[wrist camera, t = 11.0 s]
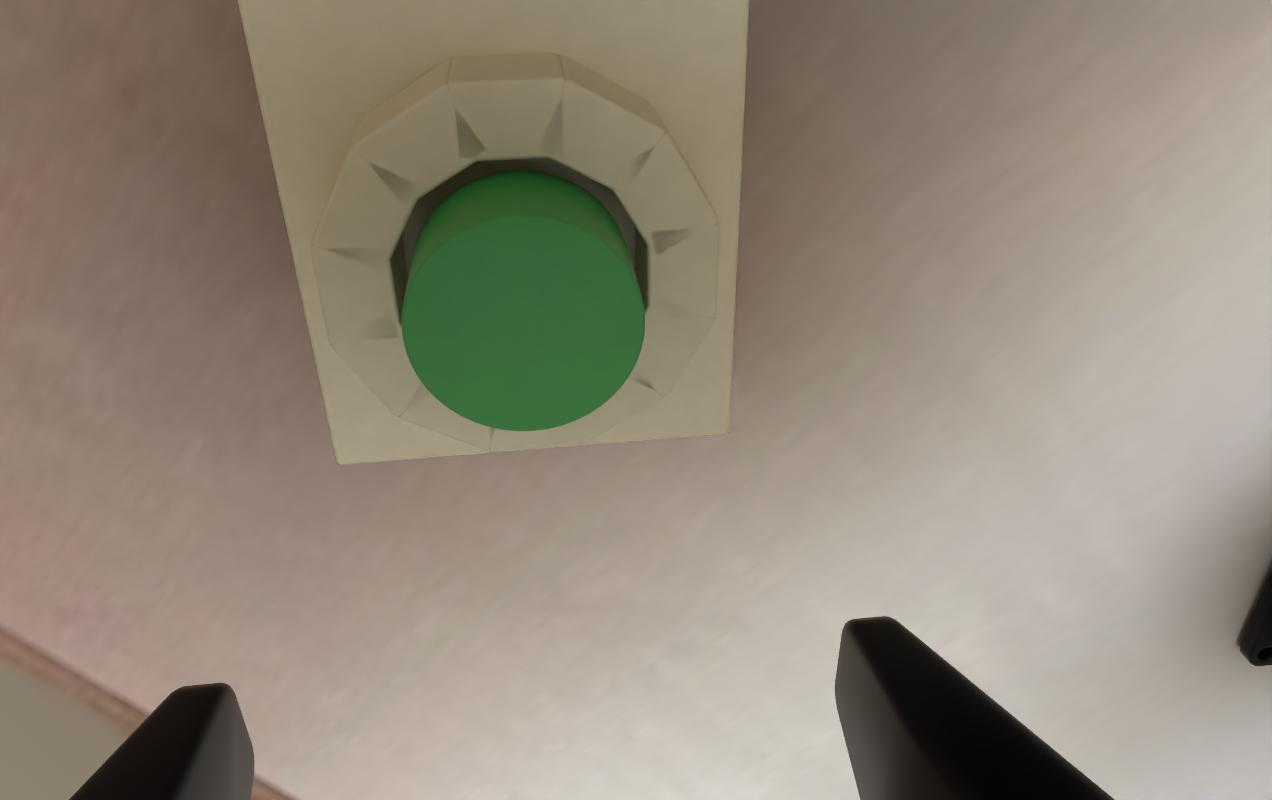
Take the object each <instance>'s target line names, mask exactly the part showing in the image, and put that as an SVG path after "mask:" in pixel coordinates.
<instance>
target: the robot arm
mask: <svg viewBox="0 0 1272 800" xmlns="http://www.w3.org/2000/svg"><path fill="white" fill-rule="evenodd" d="M1240 651H1241V653H1242V654H1243V655H1244V656H1245V658H1246V659H1247V660H1248V661H1249V662H1250V663H1251V664H1253V665H1255V666H1264V665H1272V575H1271V577H1270V580H1269V582H1268V584H1267V586H1266V589H1265V591H1264V593H1263V596H1262V598H1261V600H1260V602H1259V605H1258V607H1257V609H1256V612H1255V614H1254V616H1253V618H1252V621H1251V623H1250V625H1249V628H1248V630H1247V632H1246V634H1245V637H1244V639H1243V641H1242V644H1241V647H1240ZM835 697H836V704H837V710H838V714H839V718H840V722H841V726H842V729H843V733H844V737H845V741H846V745H847V749H848V753H849V757H850V761H851V764H852V768H853V772H854V776H855V780H856V784H857V788H858V792H859V795H860V799H861V800H1114V799H1113V798H1112V797H1111V796H1109V795H1108V794H1107V793H1106V792H1105V791H1103V790H1102V789H1101V788H1100V787H1099V786H1097V785H1096V784H1095V783H1094V782H1092V781H1091V780H1090V779H1089V778H1088V777H1086V776H1085V775H1084V774H1083V773H1082V772H1080V771H1079V770H1078V769H1077V768H1075V767H1074V766H1073V765H1072V764H1071V763H1069V762H1068V761H1067V760H1066V759H1064V758H1063V757H1062V756H1061V755H1060V754H1058V753H1057V752H1056V751H1055V750H1054V749H1052V748H1051V747H1050V746H1049V745H1047V744H1046V743H1045V742H1044V741H1043V740H1041V739H1040V738H1039V737H1038V736H1037V735H1035V734H1034V733H1033V732H1032V731H1030V730H1029V729H1028V728H1027V727H1026V726H1024V725H1023V724H1022V723H1021V722H1019V721H1018V720H1017V719H1016V718H1015V717H1013V716H1012V715H1011V714H1010V713H1009V712H1007V711H1006V710H1005V709H1004V708H1002V707H1001V706H1000V705H999V704H998V703H996V702H995V701H994V700H993V699H992V698H990V697H989V696H988V695H987V694H985V693H984V692H983V691H982V690H981V689H979V688H978V687H977V686H976V685H975V684H973V683H972V682H971V681H970V680H968V679H967V678H966V677H965V676H964V675H962V674H961V673H960V672H959V671H957V670H956V669H955V668H954V667H953V666H951V665H950V664H949V663H948V662H947V661H945V660H944V659H943V658H942V657H940V656H939V655H938V654H937V653H936V652H934V651H933V650H932V649H931V648H930V647H928V646H927V645H926V644H925V643H923V642H922V641H921V640H920V639H919V638H917V637H916V636H915V635H914V634H912V633H911V632H910V631H909V630H908V629H906V628H905V627H904V626H903V625H902V624H900V623H899V622H898V621H896V620H895V619H893V618H890V617H887V616H882V617H872V618H862V619H852V620H850V621H848V622H847V623H846V624H845V626H844V628H843V631H842V636H841V643H840V651H839V658H838V666H837V673H836V680H835ZM253 778H254V752H253V747H252V743H251V740H250V737H249V734H248V731H247V728H246V725H245V722H244V719H243V716H242V713H241V710H240V707H239V704H238V701H237V698H236V695H235V693H234V691H233V689H232V688H231V687H230V686H229V685H228V684H225V683H213V684H203V685H193V686H184V687H181V688H178V689H177V690H175V691H174V692H172V693H171V694H170V695H169V696H168V697H167V698H166V699H165V700H164V701H163V702H162V703H161V704H160V705H159V706H158V707H157V708H156V709H155V710H154V711H153V712H152V714H151V715H150V716H149V717H148V718H147V719H146V720H145V721H144V722H143V723H142V724H141V725H140V726H139V727H138V728H137V729H136V730H135V731H134V732H133V733H132V734H131V735H130V737H129V738H128V739H127V740H126V741H125V742H124V743H123V744H122V745H121V746H120V747H119V748H118V749H117V750H116V751H115V752H114V753H113V754H112V755H111V756H110V757H109V758H108V760H107V761H106V762H105V763H104V764H103V765H102V766H101V767H100V768H99V769H98V770H97V771H96V772H95V773H94V774H93V775H92V776H91V777H90V778H89V779H88V780H87V781H86V783H85V784H84V785H83V786H82V787H81V788H80V789H79V790H78V791H77V792H76V793H75V794H74V795H73V796H72V797H71V798H70V799H69V800H251V794H252V786H253Z"/></svg>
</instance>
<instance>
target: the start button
mask: <svg viewBox="0 0 1272 800" xmlns="http://www.w3.org/2000/svg"><path fill="white" fill-rule="evenodd" d="M401 325H402V337H403V342H404V346H405V350H406V353H407V356H408V358H409V361H410V363H411V366H412V367H413V369H414V371H415V373H416V374H417V376H418V378H419V379H420V380H421V382H422V383H423V384H424V386H425V387H426V388H427V390H428V391H429V392H430V393H431V394H432V395H433V396H434V397H435V398H436V399H437V400H439V401H440V402H441V403H442V404H444V405H445V406H446V407H447V408H449V409H450V410H452V411H454V412H455V413H457V414H459V415H460V416H462V417H464V418H466V419H469V420H471V421H473V422H475V423H478V424H481V425H485V426H488V427H492V428H497V429H502V430H510V431H537V430H545V429H550V428H554V427H558V426H563V425H565V424H568V423H571V422H573V421H576V420H578V419H580V418H582V417H584V416H586V415H588V414H590V413H591V412H593V411H594V410H596V409H598V408H599V407H601V406H602V405H603V404H604V403H605V402H607V401H608V400H609V399H610V398H611V397H612V396H613V395H614V394H615V393H616V392H617V391H618V390H619V389H620V388H621V387H622V385H623V384H624V383H625V381H626V380H627V378H628V377H629V375H630V374H631V372H632V370H633V368H634V366H635V364H636V363H637V360H638V357H639V355H640V352H641V349H642V345H643V340H644V335H645V311H644V304H643V300H642V295H641V291H640V288H639V285H638V282H637V278H636V275H635V272H634V268H633V265H632V262H631V258H630V255H629V252H628V249H627V245H626V242H625V240H624V237H623V235H622V232H621V230H620V228H619V226H618V225H617V223H616V221H615V219H614V218H613V217H612V215H611V214H610V213H609V211H608V210H607V209H606V208H605V207H604V206H603V205H602V204H601V203H600V202H599V201H598V200H597V199H596V198H595V197H594V196H593V195H591V194H590V193H589V192H587V191H586V190H585V189H583V188H581V187H580V186H578V185H576V184H575V183H573V182H571V181H568V180H566V179H563V178H561V177H559V176H555V175H551V174H548V173H544V172H537V171H530V170H511V171H503V172H497V173H493V174H489V175H485V176H482V177H479V178H477V179H474V180H472V181H470V182H468V183H466V184H464V185H462V186H461V187H459V188H457V189H456V190H454V191H453V192H452V193H450V194H449V195H448V196H446V197H445V198H444V199H443V200H442V201H441V202H440V203H439V204H438V205H437V206H436V207H435V208H434V210H433V211H432V212H431V214H430V215H429V216H428V218H427V219H426V221H425V223H424V225H423V226H422V228H421V230H420V232H419V235H418V238H417V240H416V243H415V247H414V252H413V256H412V262H411V267H410V272H409V277H408V282H407V287H406V292H405V298H404V303H403V308H402V321H401Z"/></svg>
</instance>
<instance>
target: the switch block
mask: <svg viewBox="0 0 1272 800" xmlns="http://www.w3.org/2000/svg"><path fill="white" fill-rule="evenodd" d="M238 5H239V10H240V14H241V19H242V24H243V28H244V33H245V38H246V42H247V47H248V52H249V56H250V61H251V66H252V70H253V75H254V80H255V84H256V89H257V94H258V98H259V103H260V108H261V112H262V117H263V122H264V126H265V131H266V136H267V140H268V145H269V149H270V154H271V159H272V163H273V168H274V173H275V177H276V182H277V187H278V191H279V196H280V201H281V205H282V210H283V215H284V219H285V224H286V229H287V233H288V238H289V243H290V247H291V252H292V257H293V261H294V266H295V271H296V275H297V280H298V285H299V289H300V294H301V299H302V303H303V308H304V313H305V317H306V322H307V327H308V331H309V336H310V341H311V345H312V350H313V354H314V359H315V364H316V368H317V373H318V378H319V382H320V387H321V392H322V396H323V401H324V406H325V410H326V415H327V420H328V424H329V429H330V434H331V438H332V443H333V448H334V452H335V457H336V461H337V463H338V464H340V465H345V464H358V463H370V462H383V461H395V460H408V459H420V458H433V457H445V456H458V455H470V454H483V453H495V452H508V451H520V450H532V449H545V448H557V447H570V446H582V445H595V444H607V443H620V442H632V441H645V440H657V439H670V438H682V437H695V436H707V435H720V434H727V433H729V431H730V417H731V395H732V373H733V351H734V328H735V306H736V284H737V262H738V240H739V217H740V195H741V173H742V151H743V128H744V106H745V84H746V62H747V40H748V17H749V0H238ZM511 170H530V171H537V172H544V173H548V174H551V175H555V176H559V177H561V178H563V179H566V180H568V181H571V182H573V183H575V184H576V185H578V186H580V187H581V188H583V189H585V190H586V191H587V192H589V193H590V194H591V195H593V196H594V197H595V198H596V199H597V200H598V201H599V202H600V203H601V204H602V205H603V206H604V207H605V208H606V209H607V210H608V211H609V213H610V214H611V215H612V217H613V218H614V219H615V221H616V223H617V225H618V226H619V228H620V230H621V232H622V235H623V237H624V240H625V242H626V245H627V249H628V252H629V255H630V258H631V262H632V265H633V268H634V272H635V275H636V278H637V282H638V285H639V288H640V291H641V295H642V300H643V304H644V311H645V335H644V340H643V345H642V349H641V352H640V355H639V357H638V360H637V363H636V364H635V366H634V368H633V370H632V372H631V374H630V375H629V377H628V378H627V380H626V381H625V383H624V384H623V385H622V387H621V388H620V389H619V390H618V391H617V392H616V393H615V394H614V395H613V396H612V397H611V398H610V399H609V400H608V401H607V402H605V403H604V404H603V405H602V406H601V407H599V408H598V409H596V410H594V411H593V412H591V413H590V414H588V415H586V416H584V417H582V418H580V419H578V420H576V421H573V422H571V423H568V424H565V425H563V426H558V427H554V428H550V429H545V430H537V431H510V430H502V429H497V428H492V427H488V426H485V425H481V424H478V423H475V422H473V421H471V420H469V419H466V418H464V417H462V416H460V415H459V414H457V413H455V412H454V411H452V410H450V409H449V408H447V407H446V406H445V405H444V404H442V403H441V402H440V401H439V400H437V399H436V398H435V397H434V396H433V395H432V394H431V393H430V392H429V391H428V390H427V388H426V387H425V386H424V384H423V383H422V382H421V380H420V379H419V378H418V376H417V374H416V373H415V371H414V369H413V367H412V366H411V363H410V361H409V358H408V356H407V353H406V350H405V346H404V342H403V337H402V325H401V321H402V308H403V303H404V298H405V292H406V287H407V282H408V277H409V272H410V267H411V262H412V256H413V252H414V247H415V243H416V240H417V238H418V235H419V232H420V230H421V228H422V226H423V225H424V223H425V221H426V219H427V218H428V216H429V215H430V214H431V212H432V211H433V210H434V208H435V207H436V206H437V205H438V204H439V203H440V202H441V201H442V200H443V199H444V198H445V197H446V196H448V195H449V194H450V193H452V192H453V191H454V190H456V189H457V188H459V187H461V186H462V185H464V184H466V183H468V182H470V181H472V180H474V179H477V178H479V177H482V176H485V175H489V174H493V173H497V172H503V171H511Z"/></svg>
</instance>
